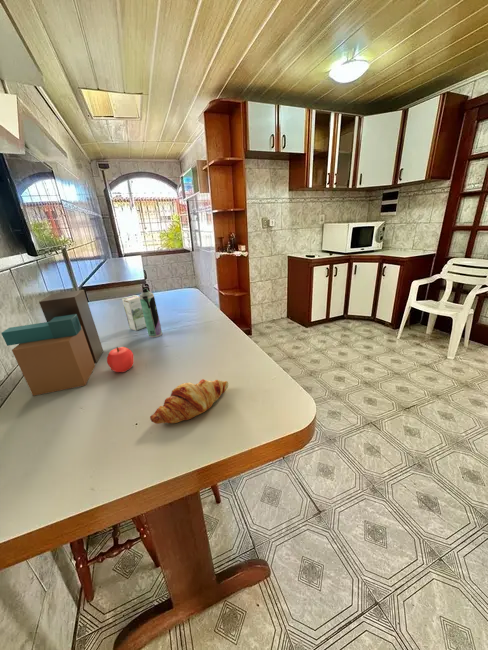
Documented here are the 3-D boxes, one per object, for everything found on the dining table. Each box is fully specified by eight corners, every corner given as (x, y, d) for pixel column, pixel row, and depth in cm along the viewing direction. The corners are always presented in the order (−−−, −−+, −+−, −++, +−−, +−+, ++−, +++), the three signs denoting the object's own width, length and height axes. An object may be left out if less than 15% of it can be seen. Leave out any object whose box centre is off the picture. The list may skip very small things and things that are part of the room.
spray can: (163, 335, 111) (153, 288, 103) (150, 338, 108) (139, 291, 101) (160, 331, 115) (150, 285, 108) (147, 334, 113) (136, 288, 105)
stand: (65, 369, 91) (38, 301, 82) (74, 355, 100) (51, 293, 91) (96, 363, 93) (74, 296, 84) (103, 350, 102) (83, 289, 93)
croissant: (223, 394, 76) (213, 368, 76) (242, 393, 68) (230, 364, 68) (151, 433, 63) (139, 401, 64) (163, 438, 55) (150, 402, 55)
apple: (126, 376, 83) (119, 353, 80) (104, 374, 85) (97, 352, 82) (141, 363, 90) (135, 341, 87) (120, 362, 92) (114, 341, 89)
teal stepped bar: (6, 346, 74) (-2, 330, 72) (15, 339, 79) (8, 323, 77) (76, 335, 78) (71, 319, 76) (81, 329, 82) (76, 313, 80)
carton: (32, 395, 77) (11, 350, 71) (49, 374, 88) (32, 333, 82) (85, 385, 80) (68, 340, 74) (95, 366, 91) (81, 325, 85)
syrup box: (140, 324, 125) (133, 294, 119) (147, 326, 121) (140, 296, 116) (129, 328, 121) (121, 298, 115) (136, 331, 117) (128, 299, 112)
